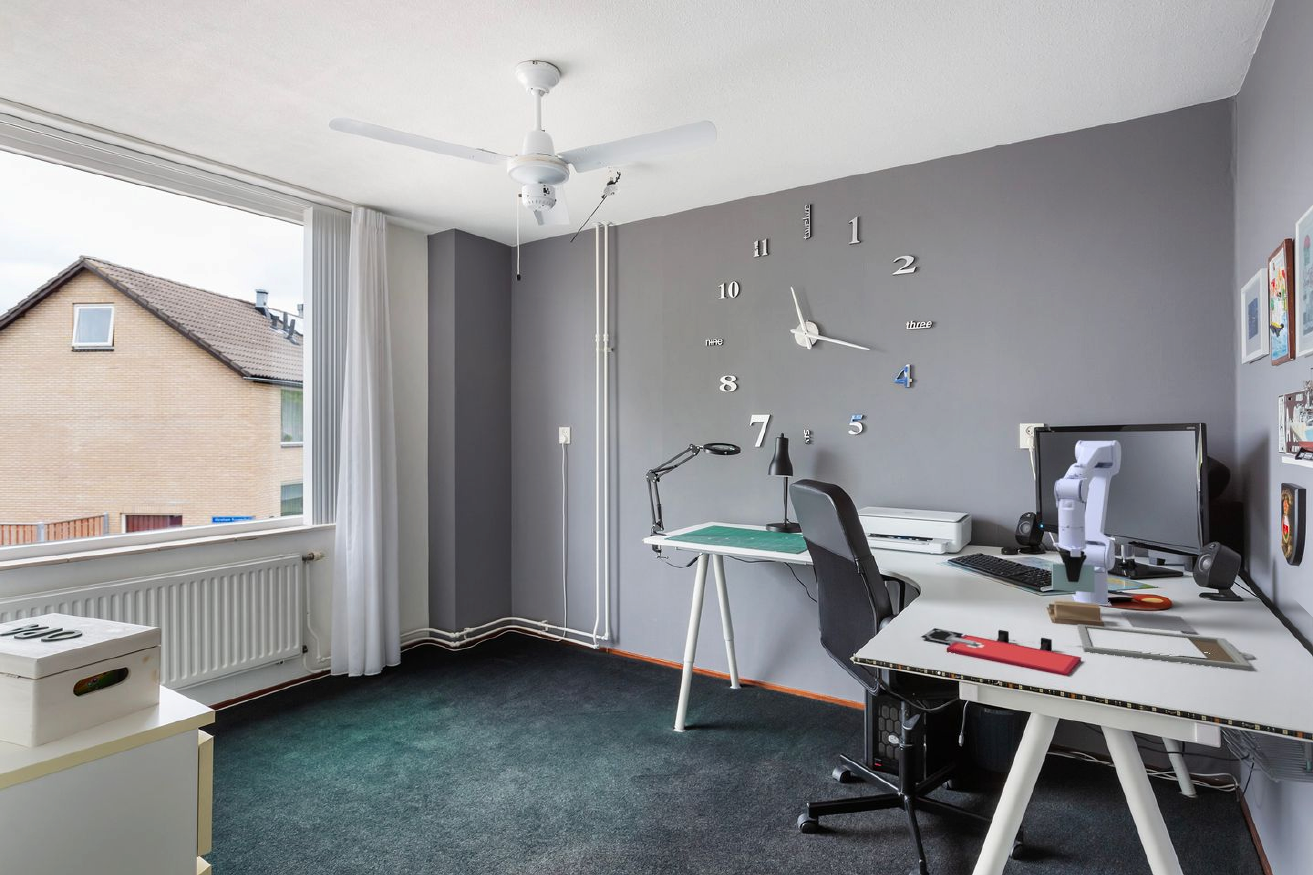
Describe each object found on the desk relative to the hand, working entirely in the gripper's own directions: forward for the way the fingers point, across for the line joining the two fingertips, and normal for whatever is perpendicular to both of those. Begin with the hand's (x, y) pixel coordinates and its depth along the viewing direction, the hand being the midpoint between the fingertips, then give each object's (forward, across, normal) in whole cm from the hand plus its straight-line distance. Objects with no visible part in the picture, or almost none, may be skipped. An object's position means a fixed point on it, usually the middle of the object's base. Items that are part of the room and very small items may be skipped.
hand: (1072, 580), depth 172 cm
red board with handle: (+9, +37, -18) cm, 43 cm away
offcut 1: (+8, +7, 0) cm, 10 cm away
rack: (+8, +4, 0) cm, 10 cm away
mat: (+8, +2, +17) cm, 19 cm away
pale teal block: (+2, 0, 0) cm, 2 cm away
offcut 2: (+8, +9, 0) cm, 12 cm away
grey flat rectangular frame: (+9, +23, +14) cm, 28 cm away
